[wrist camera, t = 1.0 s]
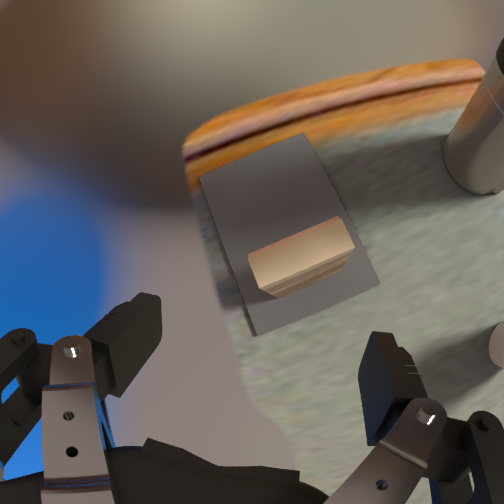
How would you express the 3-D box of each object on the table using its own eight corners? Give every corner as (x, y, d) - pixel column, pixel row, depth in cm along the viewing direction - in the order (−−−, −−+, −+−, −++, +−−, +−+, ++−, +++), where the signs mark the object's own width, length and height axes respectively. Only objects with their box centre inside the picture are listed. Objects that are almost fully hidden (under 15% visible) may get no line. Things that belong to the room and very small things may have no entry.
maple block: (339, 272, 32) (355, 247, 20) (278, 298, 32) (259, 288, 21) (330, 250, 32) (339, 214, 21) (269, 276, 33) (246, 254, 21)
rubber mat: (378, 284, 31) (379, 283, 30) (258, 335, 32) (257, 335, 32) (303, 134, 36) (303, 132, 36) (200, 178, 37) (198, 177, 37)
